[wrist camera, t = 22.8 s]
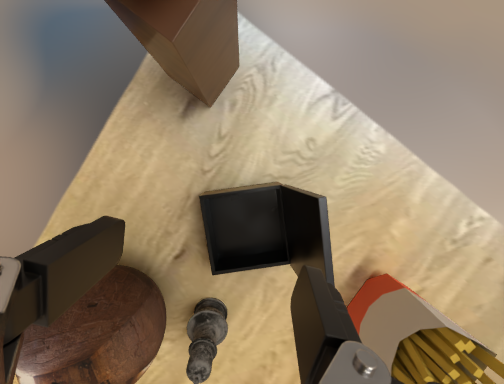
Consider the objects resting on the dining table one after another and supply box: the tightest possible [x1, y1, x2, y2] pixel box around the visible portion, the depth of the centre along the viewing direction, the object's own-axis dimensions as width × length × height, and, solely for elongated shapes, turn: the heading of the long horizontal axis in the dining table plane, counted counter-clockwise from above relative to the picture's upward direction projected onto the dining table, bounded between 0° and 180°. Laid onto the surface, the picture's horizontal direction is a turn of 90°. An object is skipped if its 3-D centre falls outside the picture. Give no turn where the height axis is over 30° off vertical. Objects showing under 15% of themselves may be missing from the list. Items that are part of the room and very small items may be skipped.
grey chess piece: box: [186, 298, 228, 384], centre depth 31 cm, size 6×6×12 cm
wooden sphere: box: [15, 265, 166, 384], centre depth 29 cm, size 15×15×15 cm
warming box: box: [199, 182, 290, 275], centre depth 33 cm, size 11×11×4 cm
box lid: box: [281, 185, 335, 287], centre depth 25 cm, size 12×11×1 cm
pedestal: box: [105, 0, 239, 107], centre depth 23 cm, size 7×7×18 cm
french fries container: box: [347, 274, 504, 384], centre depth 29 cm, size 5×11×18 cm, turn 147°
